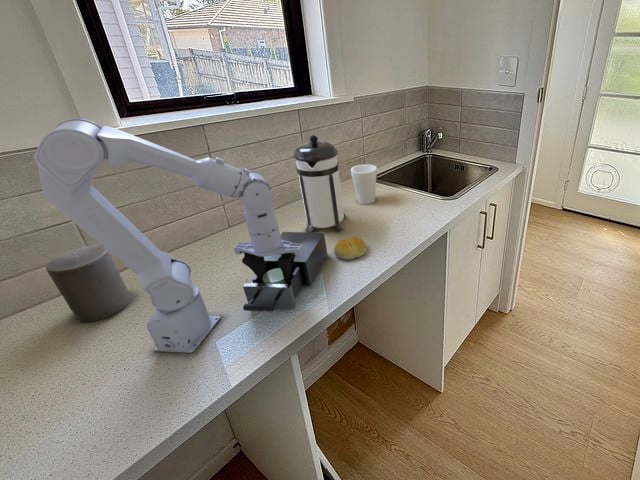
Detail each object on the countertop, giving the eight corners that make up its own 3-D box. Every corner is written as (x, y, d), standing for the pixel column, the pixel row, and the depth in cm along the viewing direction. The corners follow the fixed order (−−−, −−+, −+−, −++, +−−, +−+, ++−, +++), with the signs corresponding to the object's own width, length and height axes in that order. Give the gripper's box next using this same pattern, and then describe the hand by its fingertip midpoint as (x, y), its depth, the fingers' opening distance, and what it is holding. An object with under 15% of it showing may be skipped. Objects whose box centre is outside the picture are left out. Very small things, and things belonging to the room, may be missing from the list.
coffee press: (360, 222, 112) (352, 134, 99) (318, 241, 102) (302, 145, 89) (332, 207, 123) (321, 125, 110) (291, 222, 113) (273, 134, 99)
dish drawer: (284, 323, 71) (279, 303, 68) (237, 322, 71) (230, 301, 69) (313, 273, 86) (310, 255, 84) (274, 272, 87) (269, 253, 84)
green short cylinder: (283, 292, 75) (281, 282, 74) (260, 291, 76) (257, 282, 75) (293, 277, 80) (291, 268, 79) (271, 276, 81) (269, 267, 79)
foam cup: (383, 199, 129) (381, 167, 124) (368, 208, 122) (365, 174, 117) (365, 193, 134) (362, 162, 128) (349, 202, 127) (345, 169, 121)
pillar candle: (72, 329, 71) (35, 272, 64) (80, 303, 78) (47, 249, 71) (131, 309, 76) (102, 255, 69) (133, 287, 83) (107, 235, 76)
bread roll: (332, 248, 98) (330, 237, 96) (362, 242, 102) (361, 230, 100) (337, 264, 92) (336, 251, 90) (369, 256, 95) (368, 244, 93)
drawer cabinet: (310, 287, 83) (305, 261, 80) (265, 285, 84) (258, 260, 80) (327, 255, 95) (324, 232, 92) (288, 254, 96) (283, 231, 92)
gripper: (304, 220, 74) (313, 269, 81) (240, 218, 75) (254, 267, 81) (290, 236, 68) (301, 289, 74) (222, 234, 69) (238, 286, 75)
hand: (276, 279), depth 77 cm, fingers closed on green short cylinder, 5 cm apart
